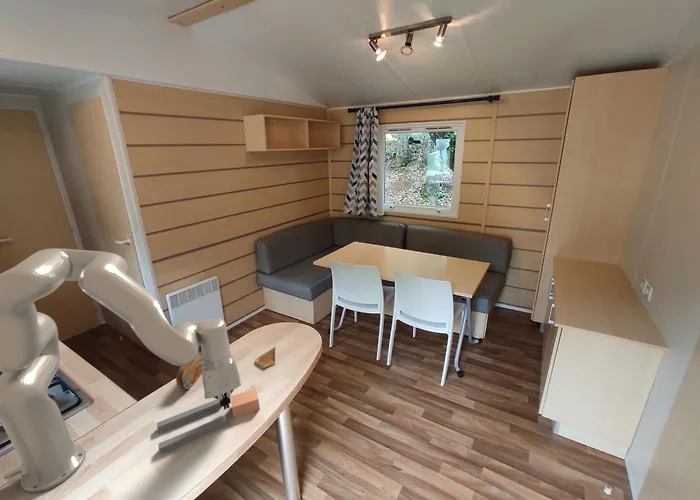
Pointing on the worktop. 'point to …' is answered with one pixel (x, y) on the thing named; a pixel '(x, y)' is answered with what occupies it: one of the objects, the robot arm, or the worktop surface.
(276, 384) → the worktop surface
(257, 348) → the worktop surface
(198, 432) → the chute
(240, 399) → the block
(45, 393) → the robot arm
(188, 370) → the tin
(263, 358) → the shard
